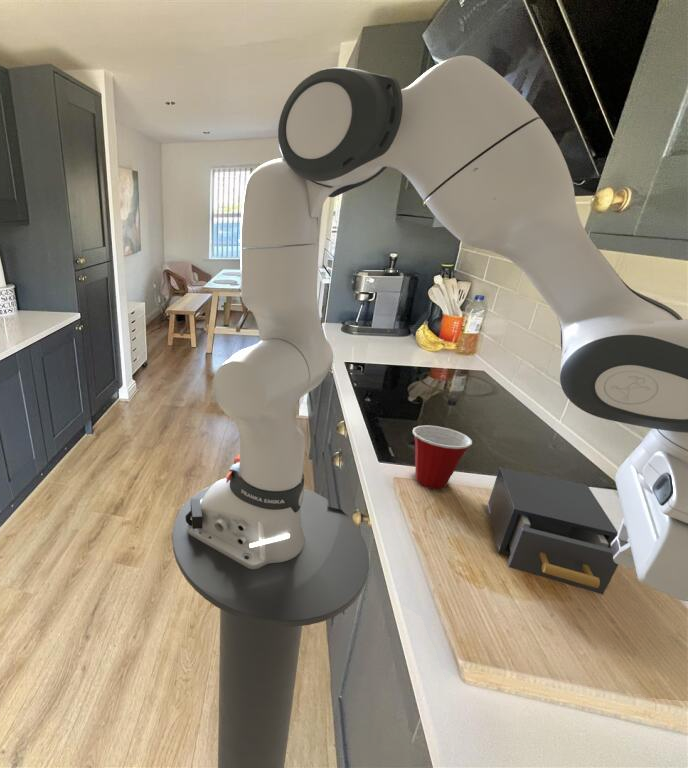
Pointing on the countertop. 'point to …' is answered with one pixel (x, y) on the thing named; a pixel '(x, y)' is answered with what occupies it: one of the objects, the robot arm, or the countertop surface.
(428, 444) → the plastic cup
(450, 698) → the countertop surface
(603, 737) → the countertop surface
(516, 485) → the cabinet
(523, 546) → the drawer
